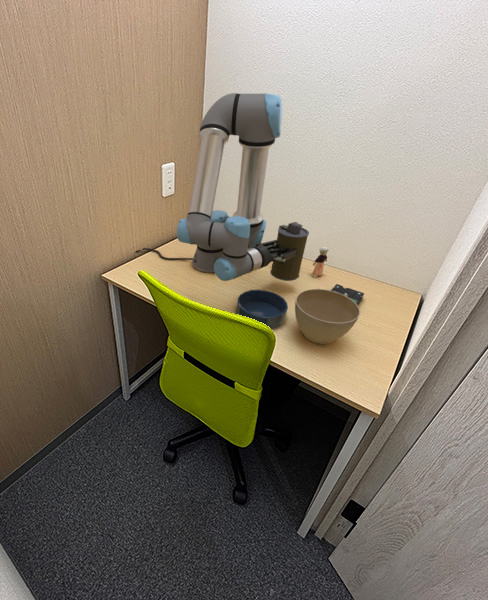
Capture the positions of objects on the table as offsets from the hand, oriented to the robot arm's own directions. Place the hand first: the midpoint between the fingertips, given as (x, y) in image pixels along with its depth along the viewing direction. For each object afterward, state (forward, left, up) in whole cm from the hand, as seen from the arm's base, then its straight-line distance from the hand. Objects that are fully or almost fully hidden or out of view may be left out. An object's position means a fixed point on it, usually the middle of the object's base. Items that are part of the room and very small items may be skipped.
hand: (300, 242), depth 123 cm
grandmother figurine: (+8, +12, -18) cm, 23 cm away
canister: (-3, -5, -12) cm, 13 cm away
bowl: (-5, -26, -18) cm, 32 cm away
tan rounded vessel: (+14, -28, -18) cm, 36 cm away
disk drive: (+19, -5, -18) cm, 27 cm away
